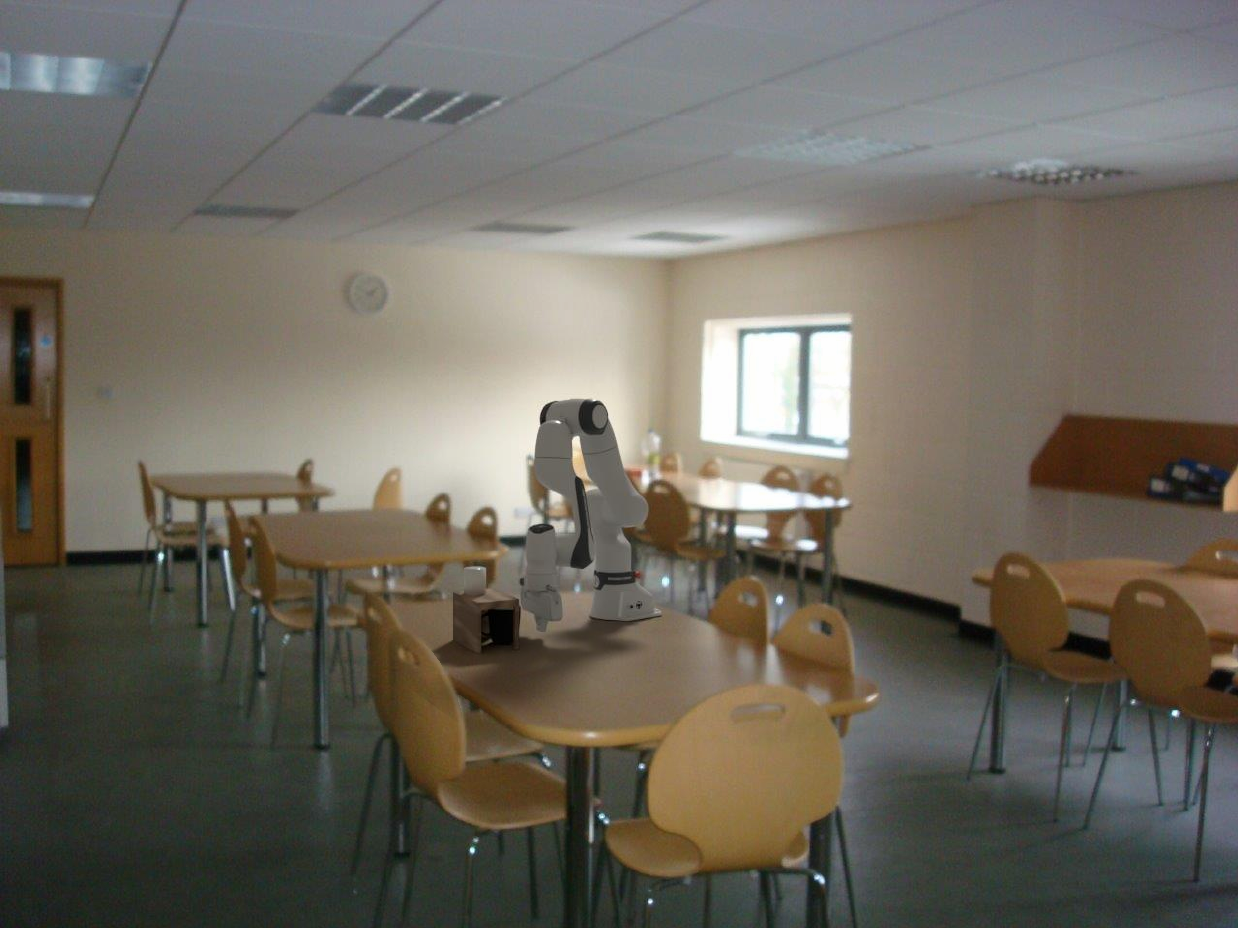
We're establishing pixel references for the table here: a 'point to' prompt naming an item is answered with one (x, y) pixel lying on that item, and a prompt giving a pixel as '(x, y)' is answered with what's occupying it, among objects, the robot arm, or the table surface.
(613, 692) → the table surface
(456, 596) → the open wooden crate
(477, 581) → the white cylinder
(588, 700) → the table surface
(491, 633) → the mug
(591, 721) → the table surface
